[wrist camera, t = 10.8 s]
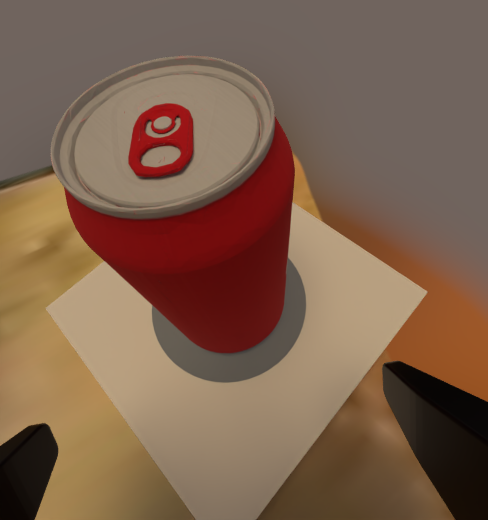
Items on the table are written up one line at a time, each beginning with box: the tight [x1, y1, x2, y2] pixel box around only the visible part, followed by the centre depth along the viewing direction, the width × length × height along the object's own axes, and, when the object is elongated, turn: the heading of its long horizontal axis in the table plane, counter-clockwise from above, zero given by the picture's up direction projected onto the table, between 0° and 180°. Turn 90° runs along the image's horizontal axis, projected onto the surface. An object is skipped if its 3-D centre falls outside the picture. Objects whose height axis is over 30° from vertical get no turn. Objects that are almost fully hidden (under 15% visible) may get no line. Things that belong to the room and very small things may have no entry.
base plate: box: [46, 202, 427, 520], centre depth 19 cm, size 16×16×3 cm
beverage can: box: [51, 56, 295, 353], centre depth 12 cm, size 6×6×12 cm
